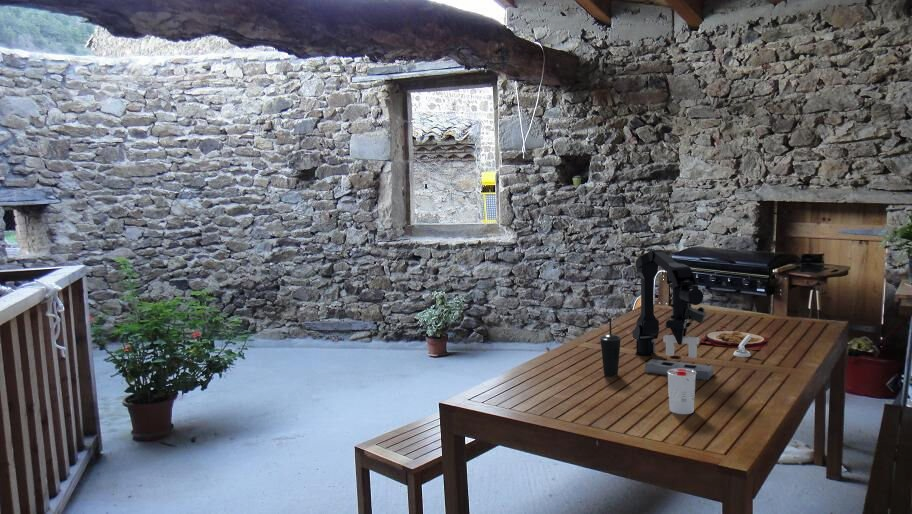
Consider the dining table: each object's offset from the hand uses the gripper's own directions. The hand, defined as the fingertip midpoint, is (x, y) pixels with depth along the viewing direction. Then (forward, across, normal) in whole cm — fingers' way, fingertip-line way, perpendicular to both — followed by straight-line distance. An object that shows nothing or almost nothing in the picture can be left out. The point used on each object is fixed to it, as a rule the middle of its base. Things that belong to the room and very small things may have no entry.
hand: (681, 343), depth 241 cm
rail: (+10, -2, 0) cm, 11 cm away
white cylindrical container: (+11, -41, -10) cm, 44 cm away
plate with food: (+11, +57, -10) cm, 58 cm away
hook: (+10, +34, -15) cm, 38 cm away
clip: (+4, 0, 0) cm, 5 cm away
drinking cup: (+11, -14, +22) cm, 28 cm away
